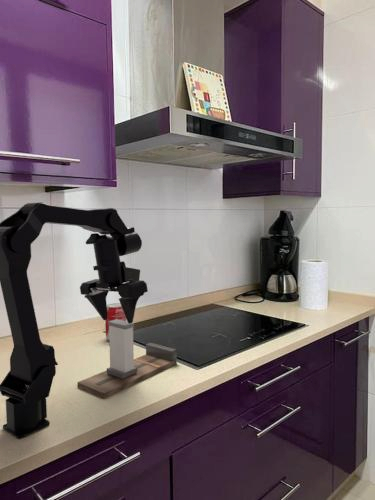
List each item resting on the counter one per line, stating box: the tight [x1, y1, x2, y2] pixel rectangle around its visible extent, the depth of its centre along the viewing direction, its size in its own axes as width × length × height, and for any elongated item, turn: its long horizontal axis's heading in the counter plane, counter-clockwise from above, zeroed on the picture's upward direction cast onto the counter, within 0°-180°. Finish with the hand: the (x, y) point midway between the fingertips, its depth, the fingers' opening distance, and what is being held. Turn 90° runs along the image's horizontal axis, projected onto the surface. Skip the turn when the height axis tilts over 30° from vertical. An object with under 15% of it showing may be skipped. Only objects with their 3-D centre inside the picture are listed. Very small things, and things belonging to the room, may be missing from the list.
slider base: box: [77, 342, 178, 399], centre depth 98 cm, size 26×10×4 cm, turn 142°
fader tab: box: [106, 319, 137, 379], centre depth 96 cm, size 5×6×13 cm
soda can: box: [104, 302, 127, 342], centre depth 128 cm, size 7×7×12 cm
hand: (117, 321), depth 93 cm, fingers open, 9 cm apart
